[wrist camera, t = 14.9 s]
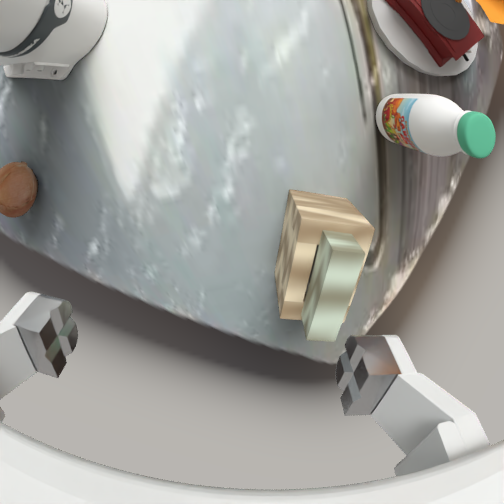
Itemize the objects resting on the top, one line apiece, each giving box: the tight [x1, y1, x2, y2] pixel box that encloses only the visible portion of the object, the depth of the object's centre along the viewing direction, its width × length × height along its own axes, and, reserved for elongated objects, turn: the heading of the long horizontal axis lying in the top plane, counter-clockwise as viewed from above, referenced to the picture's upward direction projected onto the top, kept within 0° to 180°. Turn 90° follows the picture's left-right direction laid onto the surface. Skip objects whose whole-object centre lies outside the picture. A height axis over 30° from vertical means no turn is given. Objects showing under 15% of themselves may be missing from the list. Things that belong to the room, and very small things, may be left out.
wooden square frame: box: [275, 190, 375, 323], centre depth 42 cm, size 14×9×12 cm, turn 173°
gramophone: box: [367, 0, 504, 76], centre depth 19 cm, size 20×20×25 cm
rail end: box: [301, 230, 365, 342], centre depth 36 cm, size 12×4×9 cm, turn 173°
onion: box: [0, 161, 38, 217], centre depth 38 cm, size 10×9×10 cm
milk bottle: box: [376, 94, 495, 158], centre depth 29 cm, size 8×8×20 cm
